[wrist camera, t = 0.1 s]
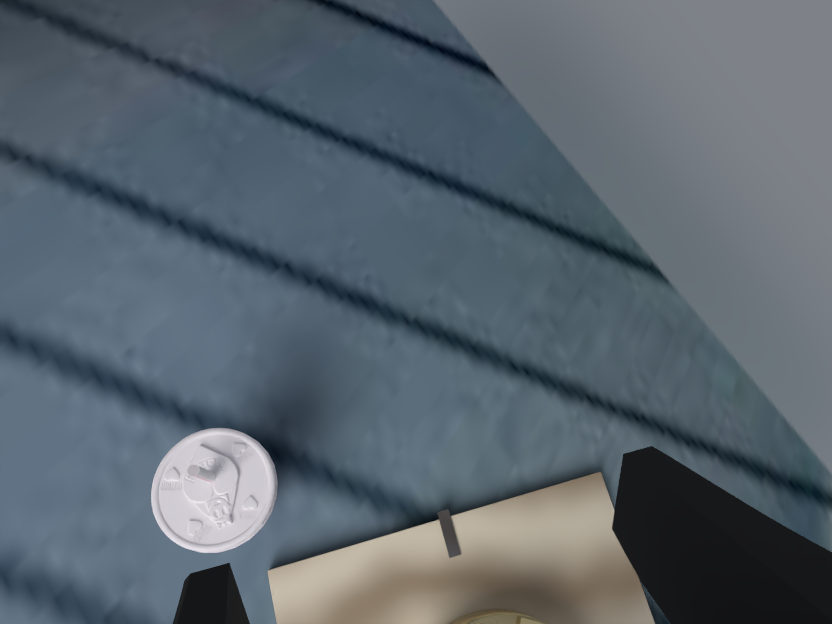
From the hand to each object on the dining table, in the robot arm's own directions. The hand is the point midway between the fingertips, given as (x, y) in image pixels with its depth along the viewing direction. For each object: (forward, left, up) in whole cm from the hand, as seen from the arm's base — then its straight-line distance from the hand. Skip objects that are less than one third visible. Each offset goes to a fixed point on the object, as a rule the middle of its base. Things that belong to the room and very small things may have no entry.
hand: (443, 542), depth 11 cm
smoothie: (+4, +7, -32) cm, 33 cm away
